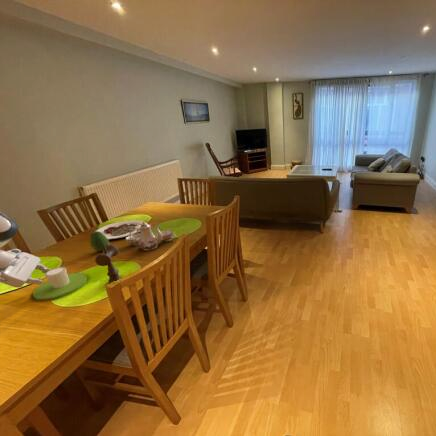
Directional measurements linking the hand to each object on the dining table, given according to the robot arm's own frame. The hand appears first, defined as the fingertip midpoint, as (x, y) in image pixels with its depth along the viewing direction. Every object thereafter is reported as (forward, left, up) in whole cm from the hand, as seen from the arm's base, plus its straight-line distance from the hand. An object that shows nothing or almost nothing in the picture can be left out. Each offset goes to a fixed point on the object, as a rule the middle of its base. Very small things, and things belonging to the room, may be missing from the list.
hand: (45, 276), depth 103 cm
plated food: (+40, +46, -7) cm, 62 cm away
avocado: (+24, +24, -7) cm, 35 cm away
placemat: (+3, -1, -7) cm, 8 cm away
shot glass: (+3, -1, -6) cm, 7 cm away
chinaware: (+45, +10, -7) cm, 47 cm away
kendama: (+20, -15, -7) cm, 26 cm away
